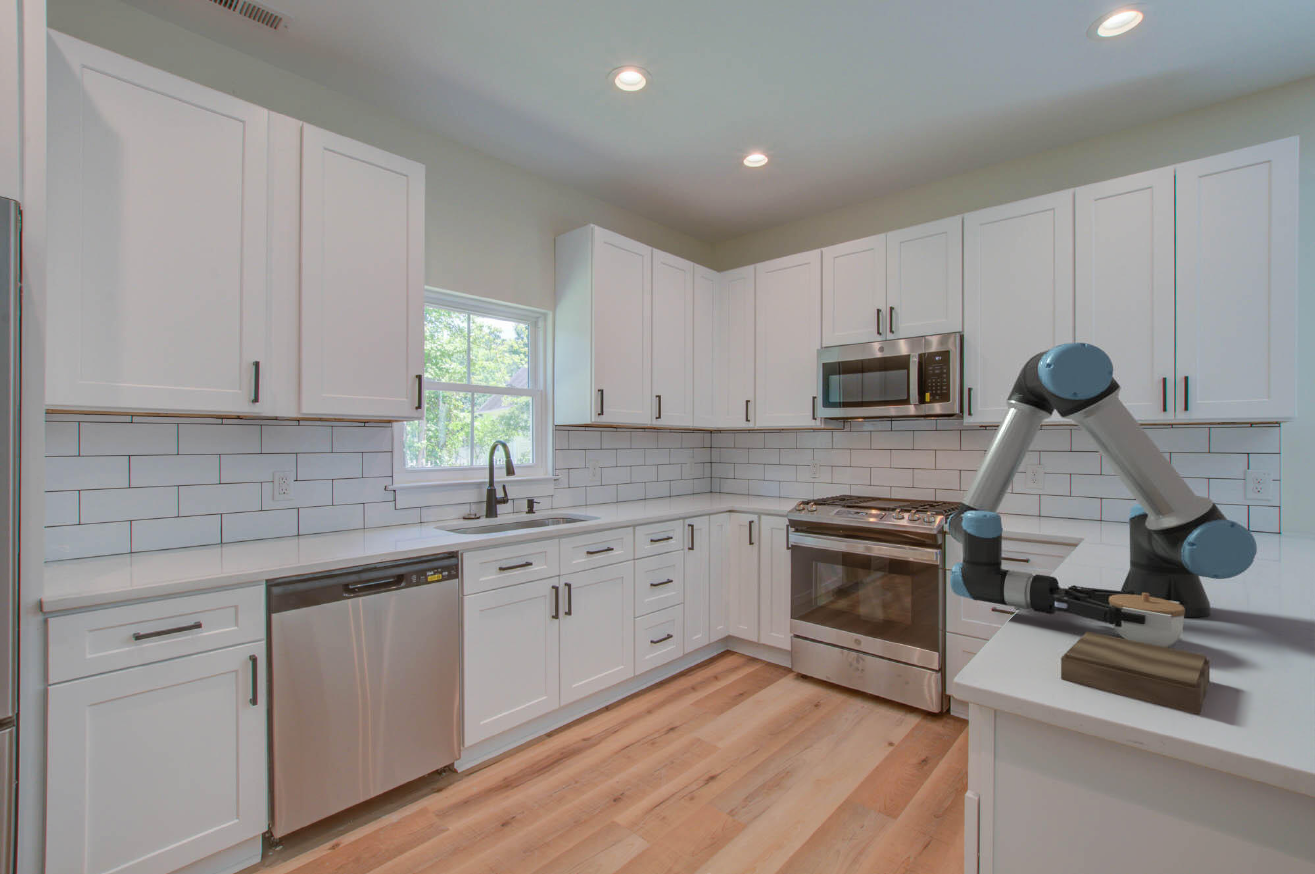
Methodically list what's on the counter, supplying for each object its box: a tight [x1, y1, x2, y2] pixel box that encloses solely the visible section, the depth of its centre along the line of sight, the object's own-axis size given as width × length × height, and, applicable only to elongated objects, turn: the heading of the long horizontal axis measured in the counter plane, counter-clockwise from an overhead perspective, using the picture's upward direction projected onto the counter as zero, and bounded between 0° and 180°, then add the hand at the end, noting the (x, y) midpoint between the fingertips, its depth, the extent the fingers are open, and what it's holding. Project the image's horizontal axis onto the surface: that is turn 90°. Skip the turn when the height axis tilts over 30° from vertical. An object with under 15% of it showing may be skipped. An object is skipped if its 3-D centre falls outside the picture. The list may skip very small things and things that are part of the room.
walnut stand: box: [1060, 631, 1211, 715], centre depth 91 cm, size 16×16×4 cm
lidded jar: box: [1109, 593, 1185, 648], centre depth 106 cm, size 11×11×9 cm
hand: (1175, 616), depth 103 cm, fingers closed on lidded jar, 11 cm apart
